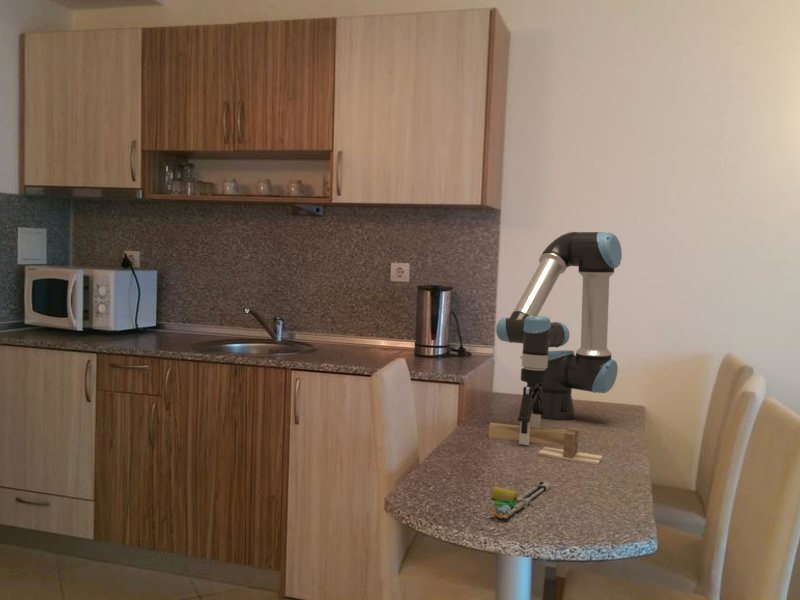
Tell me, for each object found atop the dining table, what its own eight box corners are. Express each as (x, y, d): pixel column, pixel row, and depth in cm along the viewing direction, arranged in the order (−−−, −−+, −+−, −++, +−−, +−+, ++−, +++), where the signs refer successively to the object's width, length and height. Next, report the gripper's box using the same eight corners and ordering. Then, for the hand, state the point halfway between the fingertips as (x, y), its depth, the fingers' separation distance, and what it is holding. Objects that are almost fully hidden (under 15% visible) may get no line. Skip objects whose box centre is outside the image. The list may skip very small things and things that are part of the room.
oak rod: (489, 435, 208) (490, 422, 208) (571, 444, 203) (572, 430, 203) (488, 438, 204) (489, 425, 204) (571, 447, 199) (572, 433, 199)
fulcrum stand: (544, 449, 194) (545, 424, 194) (602, 457, 188) (604, 432, 187) (537, 455, 187) (539, 429, 187) (598, 464, 180) (600, 438, 180)
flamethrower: (468, 514, 137) (516, 528, 132) (469, 501, 137) (517, 514, 132) (516, 482, 162) (558, 493, 158) (517, 471, 162) (559, 481, 157)
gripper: (531, 363, 216) (527, 430, 217) (510, 371, 193) (505, 446, 194) (555, 365, 213) (551, 433, 214) (537, 374, 190) (532, 450, 191)
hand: (529, 440), depth 204 cm, fingers open, 13 cm apart
